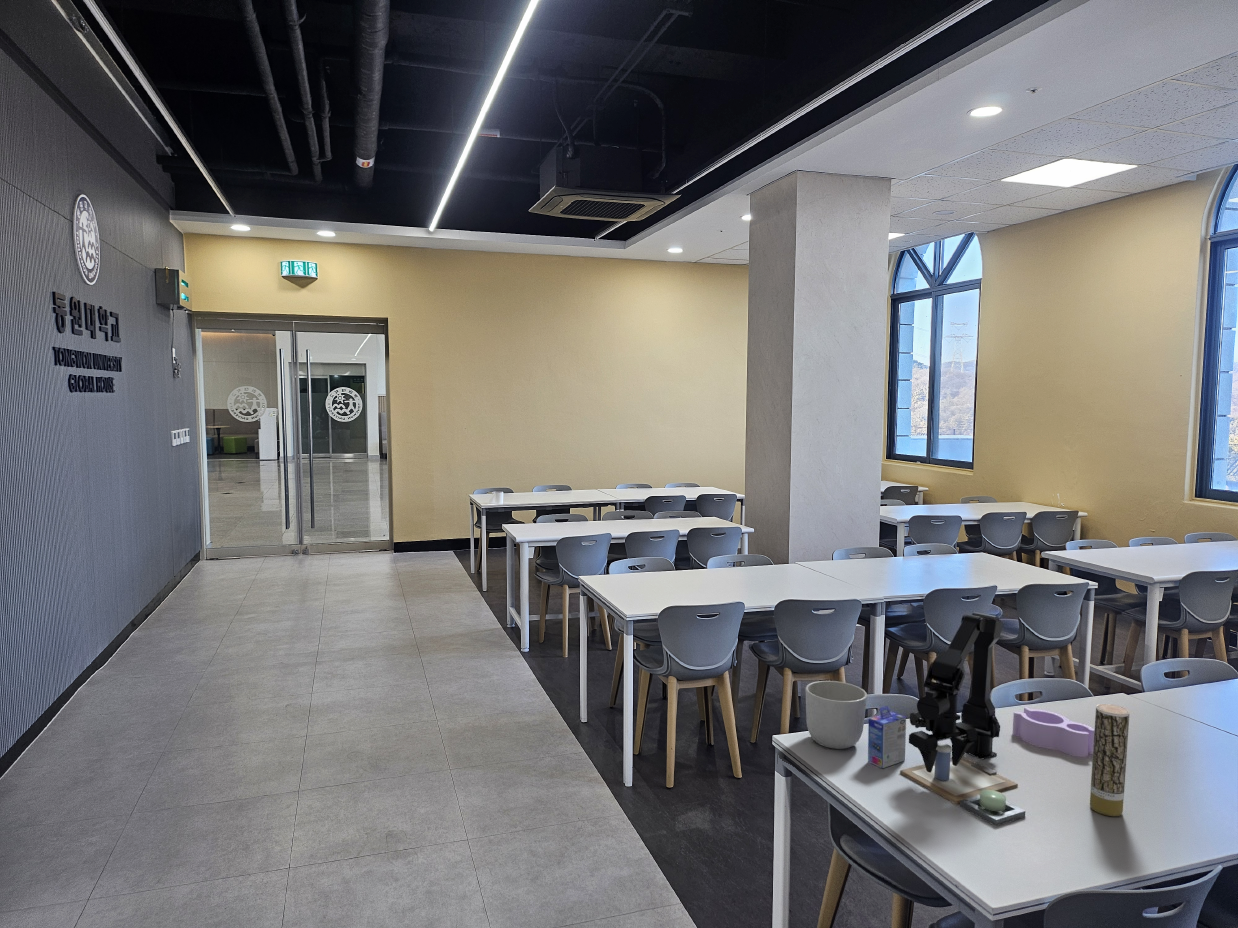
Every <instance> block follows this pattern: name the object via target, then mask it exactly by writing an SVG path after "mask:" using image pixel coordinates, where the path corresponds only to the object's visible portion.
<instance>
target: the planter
mask: <svg viewBox="0 0 1238 928" xmlns="http://www.w3.org/2000/svg"><path fill="white" fill-rule="evenodd" d="M867 701H868V693H867V692H866V691H865V689H863V688H861V687H860V686H857V685H854V684H852V683H848V682H843V681H836V680H818V681H813V682H810V683H808V684H807V685H806V686H805V715H806V720H805V721H806V726H807V727H806V728H807V730H808V733H809V735H810V736H811V738H812V740H814V742H816V743H817V744H819V745H820V746H823V747H825V748H828V749H835V750H844V749H849V748H851V747H853V746H855V745H856V744H857V743H858V742H859V741H860V739H861V737H862V735H863V732H864V725H865V717H866V709H867V708H866V707H867Z"/></svg>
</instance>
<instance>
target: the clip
mask: <svg viewBox="0 0 1238 928" xmlns="http://www.w3.org/2000/svg"><path fill="white" fill-rule="evenodd" d="M1012 718H1013V719H1012V735H1013V736H1014V737H1015V736H1016V737H1019V738H1020V740H1022V741H1023V742H1026V743H1027V744H1029V745H1032V746H1035V747H1038V748H1043V749H1048V750H1049V749H1050V750H1057V751H1060V752H1062V753H1064V754H1067V755H1069V756H1073V757H1078V758H1088V754H1089V755H1093V746H1094V731H1095V728H1093V727H1091V726H1089V725H1087V724H1084V723H1080V722H1076V721H1072V720H1071V719H1068V718H1067V717H1065V716H1064V715H1062V714H1059V713H1056V712H1053V711H1049V710H1044V709H1035V708H1033V709H1032V708H1030V707H1028V706H1024V707H1023V712H1021V711H1020V712H1019V711H1013V716H1012Z"/></svg>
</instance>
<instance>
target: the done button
mask: <svg viewBox="0 0 1238 928" xmlns="http://www.w3.org/2000/svg"><path fill="white" fill-rule="evenodd" d="M1006 801H1007V797H1006V795H1005V794H1004V793H1001V792H997V791H994V790H982V791H981V792H980V805H979V806H981V808H983V809H984V810H987V811H992V812H996V813H997V812H999V813H1000V812H1004V811H1006V810H1005V809H1006Z"/></svg>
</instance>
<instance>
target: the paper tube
mask: <svg viewBox="0 0 1238 928" xmlns="http://www.w3.org/2000/svg"><path fill="white" fill-rule="evenodd" d="M1129 723H1130V711H1129V710H1128V709H1127V708H1124V707H1123V706H1119V705H1115V704H1109V703H1099V704H1096V706H1095V718H1094V745H1093V754H1092V760H1091V761H1092V764H1091V777H1090V778H1091V780H1090V792H1089V793H1090V795H1089V797H1090V798H1089V805H1090V806H1089V807H1090V808H1091V809H1092V810H1093V811H1095V812H1096V813H1098V814H1100V815H1104V816H1108V817H1119V816H1121V815H1123V811H1124V798H1125V785H1126V783H1125V782H1126V770H1127V758H1128V754H1127V753H1128V743H1129V742H1128V741H1129Z"/></svg>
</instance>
